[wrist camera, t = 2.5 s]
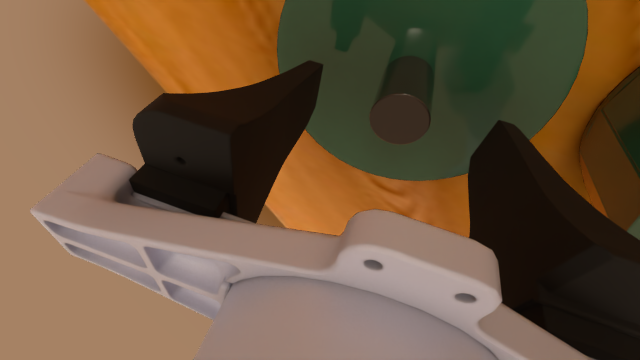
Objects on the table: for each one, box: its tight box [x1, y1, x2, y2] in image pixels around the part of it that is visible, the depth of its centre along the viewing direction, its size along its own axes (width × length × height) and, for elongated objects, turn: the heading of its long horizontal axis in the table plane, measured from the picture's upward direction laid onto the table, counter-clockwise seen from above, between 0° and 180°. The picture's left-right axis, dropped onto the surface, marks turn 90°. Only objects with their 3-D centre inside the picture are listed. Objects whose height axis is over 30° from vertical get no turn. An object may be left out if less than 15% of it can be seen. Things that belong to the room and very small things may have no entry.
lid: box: [277, 0, 588, 181], centre depth 14 cm, size 13×13×4 cm
